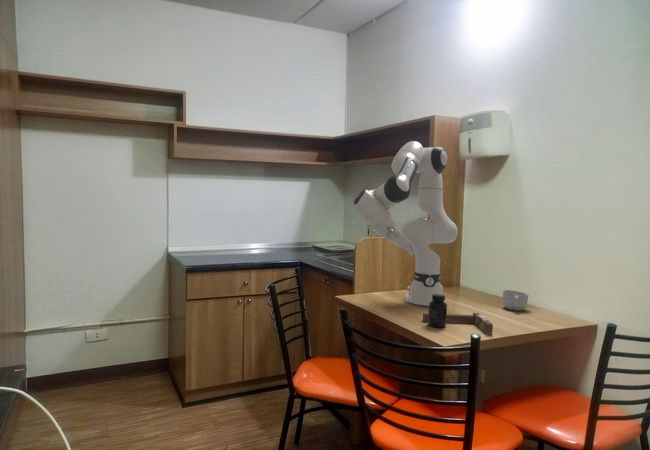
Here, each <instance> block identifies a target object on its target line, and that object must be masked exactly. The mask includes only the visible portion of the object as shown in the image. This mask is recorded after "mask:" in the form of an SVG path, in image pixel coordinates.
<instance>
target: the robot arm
mask: <svg viewBox="0 0 650 450" xmlns="http://www.w3.org/2000/svg"><path fill="white" fill-rule="evenodd" d="M447 164H448V154H447V151H446V150H445V148H444V147H442V146H433V147H424V146H423V145H422V143H420V142H419V141H414V140H410V141H408V142H407V143H405V144H404V145H403V146H402V147H401V148H400V149H399V150H398V152H397V153H396V154H395V156H394V158H393V160H392V162H391V166H390V167H391V169H392V172H393V173H394V174H392V175H391V176H390V177H389V178H388V179H387V180H386V181H384V182H383V183H382V184H381V185H380V186H378V187H377V188H374V189H362V190H361V191H360V192H359V193H358V194H357V196H356V197H355V198H354V201H353V206H354V208H355V210H356V211H357V212H358V214H359V215H360V216H361V217H362V218H363V220H365V221H366V222H367V223H368V224H370V226H371V228H372V229H373V230H374V232H375V233H376V234H377V235H378V236H379V237H380V238H385V239H388V240H389V241H390V242H391V243H393V244H394V245H395V246H397V247H399V248H400V249H401V250H403V251H404V252H405V253H407V254H408V255H409V256H415V257H414V258H415V268H414V269H415V271H414V272H413V281H412V283H411V285H409V286H407V288H406V291H407V292H408V293H406V294H405V300H404V302H405V303H410V304H415V305H418V306H424V307H426V306H427V307H429V303H430V302H431V301H432V294H442V295H444V293H443V292H444V287H443V285H442V284H441V272H440V271H441V257H440V255H439V254H438V253H437V252H435V251H434V250H432V249H430V246H429V244H441V245H444V244H449V243H454V242H455V241H456V240H457V237H458V234H459V230H458V227H457V224H455V222H454V221H452V220H451V219H450V217H449V216H448V214H447V213H446V211H445V208H444V196H443V195H444V193H443V192H444V188H443V187H444V186H443V176H442V172H443V171H444V170H445V168H446V166H447ZM416 174H420V176H419V180H418V195H417V196H418V198H417V205H418V207H419V209H420V210H422V211H423V212H425V213H426V214H428V216H429V219H424V218H422V219H421V218H413V219H409V220H408V219H407V220H406V221H405V222H404V223H403V225H402V228H401V231H400V230H399V226H398V225H397V224H398V223H399V222H398V220H397V219H396V218H395V217H394V216H393V214H392V213H391V212H390V211H389V210H391V209H392V208H394V207H395V206H397V205H398V204H400V203H401V202H403V201H405V200H407V199H408V198H409V197H410V194H411V189H412V188H411V187H412V182H413V179H414V177H415V175H416ZM409 245H410V246H409ZM411 247H412V248H411ZM444 302H445V303H446V304H447V302H446V300H445V301H444Z"/></svg>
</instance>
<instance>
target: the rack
mask: <svg viewBox="0 0 650 450" xmlns="http://www.w3.org/2000/svg"><path fill="white" fill-rule="evenodd" d="M428 313H429V312H422V322H423V323H428ZM448 323H449V324H463V325H464V324H469V325H475V326H476V327H477V328H478V329H479V330H481V331H482V332H483V333H484V334H485V335H487V336H492V335H493V326H494V325H493V323H492V322H491V321H489V319H488V318H487V317H485V316H484V315H482V314H480V313H479V312H472V314H454V313H447V317H446V324H448Z"/></svg>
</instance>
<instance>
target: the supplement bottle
mask: <svg viewBox="0 0 650 450" xmlns="http://www.w3.org/2000/svg"><path fill="white" fill-rule="evenodd" d="M444 301H446V295H444V294H443V295H442V294H432V301H431V302H430V303H429V306H428V312H427V313H428V322H427V325H428V326H429V327H431V328H437V329H444V328H446V326H447V323H446V317H447V314H448V304H447V302H446V303H445V302H444Z"/></svg>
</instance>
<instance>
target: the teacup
mask: <svg viewBox="0 0 650 450" xmlns="http://www.w3.org/2000/svg"><path fill="white" fill-rule="evenodd" d="M502 292H503V293H502V305H503V306H504V307H505V308H506V309H508V310H511V311H517V312H518V311H519V312H520V311H523V310H524V309H526V308H527V304H528V301H529V300H528V299H529V294H528V293H526V292H523V291H518V290H513V289H504V290H502Z"/></svg>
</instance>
